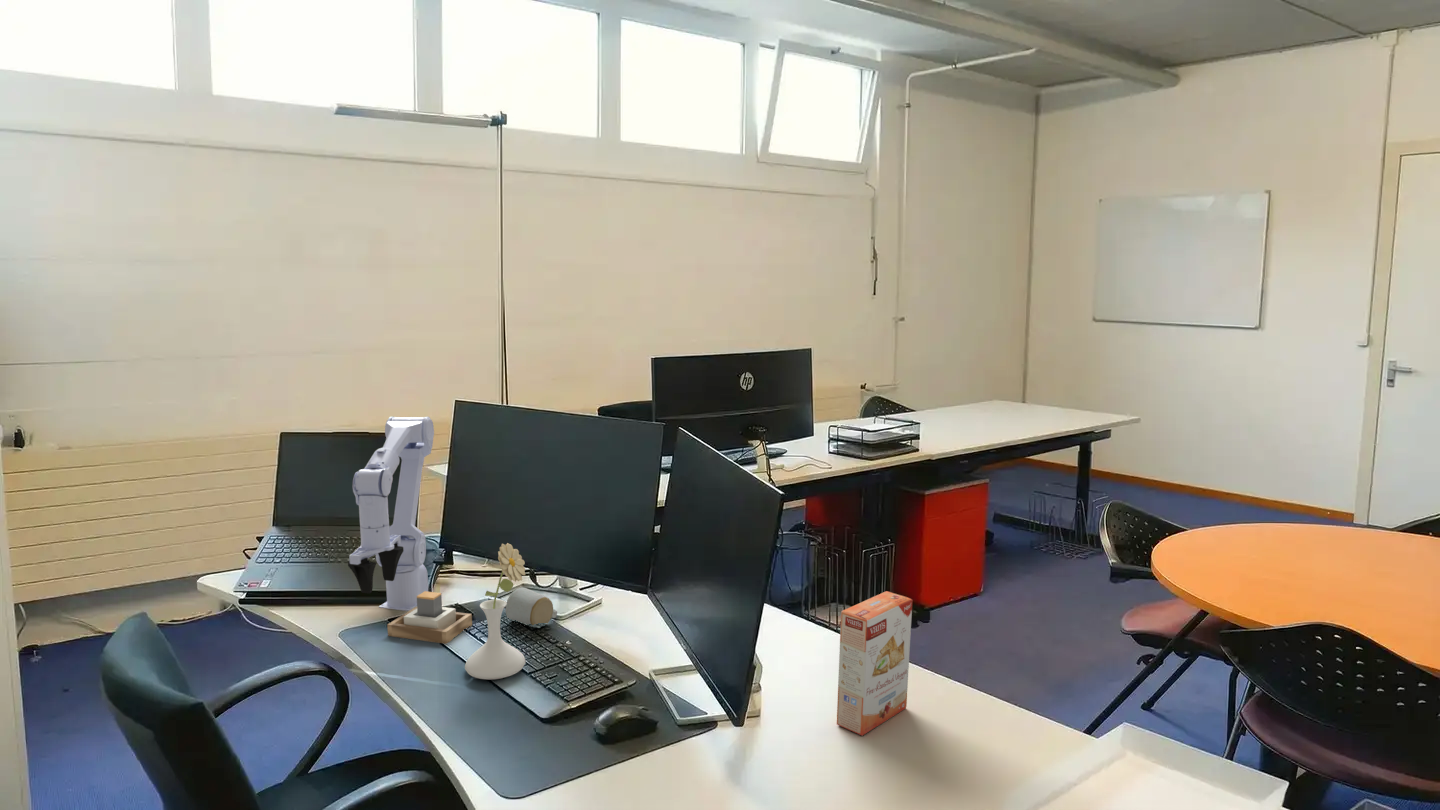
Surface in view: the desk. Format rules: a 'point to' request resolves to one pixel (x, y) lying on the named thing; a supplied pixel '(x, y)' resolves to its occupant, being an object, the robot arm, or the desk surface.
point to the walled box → (429, 629)
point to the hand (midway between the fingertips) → (378, 586)
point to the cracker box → (873, 661)
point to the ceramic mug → (529, 607)
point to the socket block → (432, 619)
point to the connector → (429, 604)
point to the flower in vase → (498, 626)
